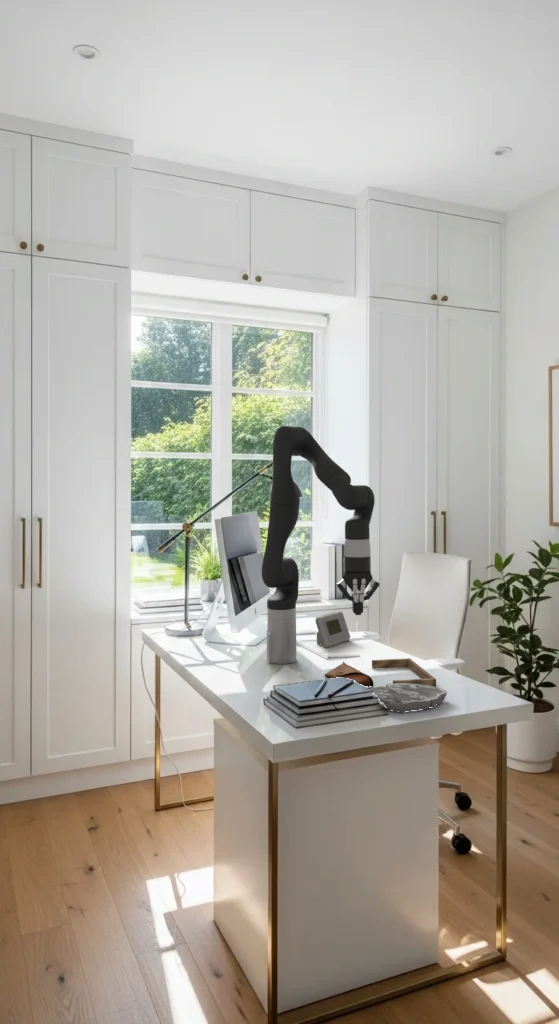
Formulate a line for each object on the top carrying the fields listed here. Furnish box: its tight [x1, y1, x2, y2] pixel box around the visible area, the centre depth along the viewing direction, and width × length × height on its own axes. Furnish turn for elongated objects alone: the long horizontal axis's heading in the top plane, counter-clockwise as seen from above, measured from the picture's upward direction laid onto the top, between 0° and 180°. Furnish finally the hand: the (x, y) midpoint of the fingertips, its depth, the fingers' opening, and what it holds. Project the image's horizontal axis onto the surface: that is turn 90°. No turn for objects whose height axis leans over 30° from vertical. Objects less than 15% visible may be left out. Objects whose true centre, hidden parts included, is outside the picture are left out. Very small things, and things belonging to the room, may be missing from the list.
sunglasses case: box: [323, 661, 375, 688], centre depth 204 cm, size 18×7×7 cm, turn 21°
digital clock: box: [314, 610, 351, 648], centre depth 253 cm, size 16×9×11 cm, turn 132°
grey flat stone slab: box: [372, 683, 448, 712], centre depth 183 cm, size 20×17×3 cm
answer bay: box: [371, 657, 437, 687], centre depth 207 cm, size 12×24×2 cm, turn 7°
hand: (358, 614), depth 205 cm, fingers closed
